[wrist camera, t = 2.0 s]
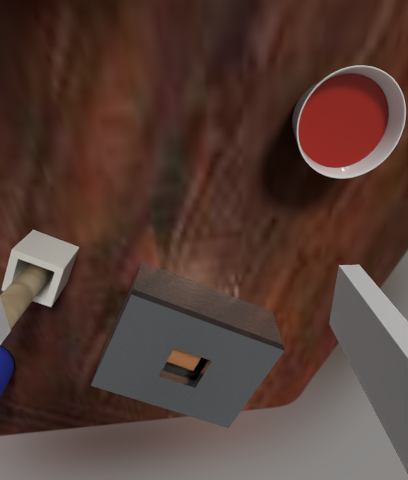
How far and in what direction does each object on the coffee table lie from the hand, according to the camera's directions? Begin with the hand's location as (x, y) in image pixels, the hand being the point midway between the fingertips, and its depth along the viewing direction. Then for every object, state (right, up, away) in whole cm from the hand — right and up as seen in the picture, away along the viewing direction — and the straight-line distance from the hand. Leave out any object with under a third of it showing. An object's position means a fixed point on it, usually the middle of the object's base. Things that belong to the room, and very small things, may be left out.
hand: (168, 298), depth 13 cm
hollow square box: (-17, 0, +28) cm, 32 cm away
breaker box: (-1, -9, +32) cm, 34 cm away
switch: (-1, -11, +30) cm, 32 cm away
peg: (-17, 0, +28) cm, 32 cm away
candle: (+14, +15, +21) cm, 29 cm away
